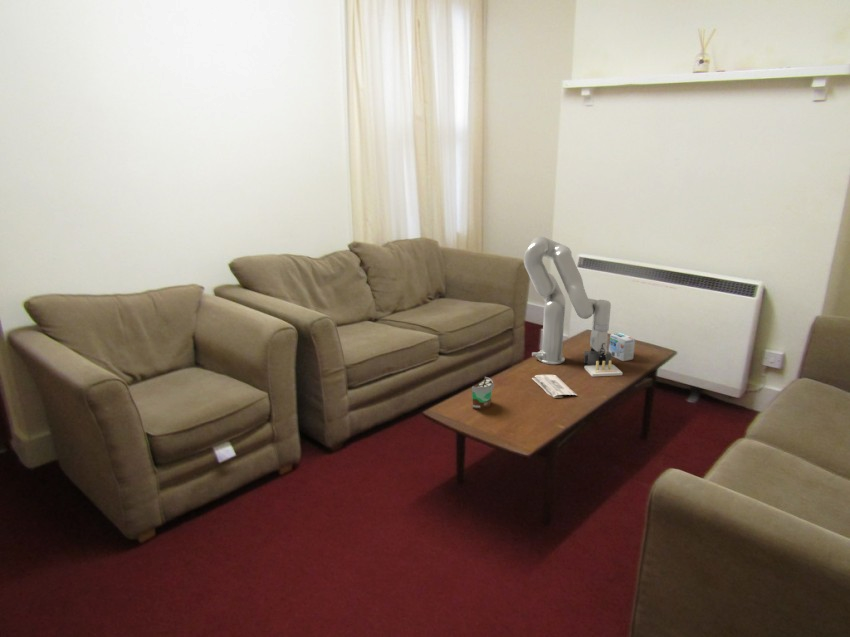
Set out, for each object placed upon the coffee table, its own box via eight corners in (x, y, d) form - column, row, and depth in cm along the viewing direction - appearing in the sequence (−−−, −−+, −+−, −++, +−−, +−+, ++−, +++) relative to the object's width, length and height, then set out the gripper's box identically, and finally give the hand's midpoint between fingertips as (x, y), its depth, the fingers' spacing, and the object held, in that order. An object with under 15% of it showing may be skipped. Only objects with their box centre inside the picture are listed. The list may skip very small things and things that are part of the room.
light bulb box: (607, 354, 282) (609, 333, 278) (618, 352, 284) (620, 332, 281) (623, 361, 272) (625, 340, 269) (633, 359, 275) (636, 338, 272)
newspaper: (530, 379, 254) (531, 374, 254) (555, 379, 257) (556, 374, 256) (550, 400, 233) (551, 395, 232) (577, 401, 236) (578, 395, 235)
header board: (592, 376, 255) (593, 365, 254) (584, 368, 265) (585, 357, 263) (622, 375, 257) (623, 364, 255) (613, 366, 266) (614, 356, 265)
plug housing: (587, 366, 267) (588, 354, 265) (584, 362, 272) (584, 350, 270) (610, 365, 268) (611, 353, 266) (606, 361, 273) (607, 349, 271)
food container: (485, 413, 222) (485, 390, 219) (471, 409, 225) (471, 386, 222) (498, 401, 232) (499, 379, 229) (484, 398, 235) (485, 376, 232)
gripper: (585, 321, 272) (583, 354, 277) (600, 332, 256) (597, 367, 261) (600, 320, 273) (598, 353, 278) (616, 331, 256) (612, 366, 261)
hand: (597, 360), depth 269 cm, fingers open, 9 cm apart
